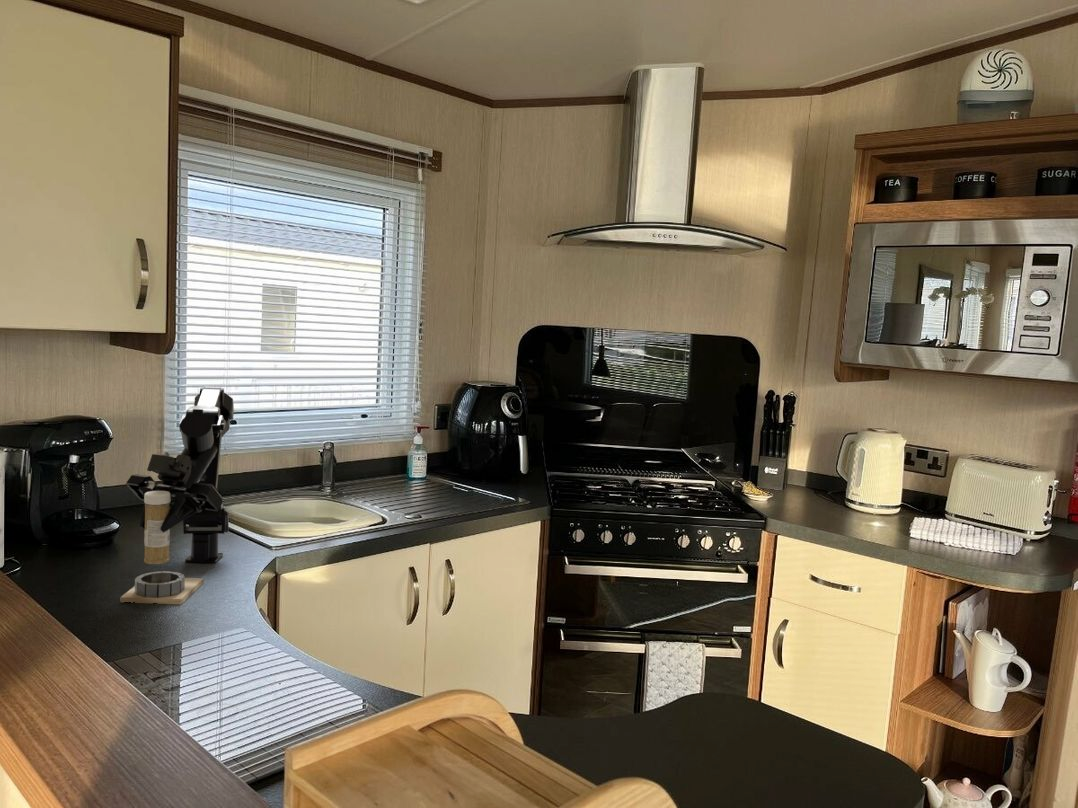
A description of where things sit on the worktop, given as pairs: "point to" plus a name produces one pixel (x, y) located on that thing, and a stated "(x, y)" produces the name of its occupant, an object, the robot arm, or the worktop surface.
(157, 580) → the socket ring
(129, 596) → the carrier plate
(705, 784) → the worktop surface
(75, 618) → the worktop surface
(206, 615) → the worktop surface
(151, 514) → the sprinkles bottle
